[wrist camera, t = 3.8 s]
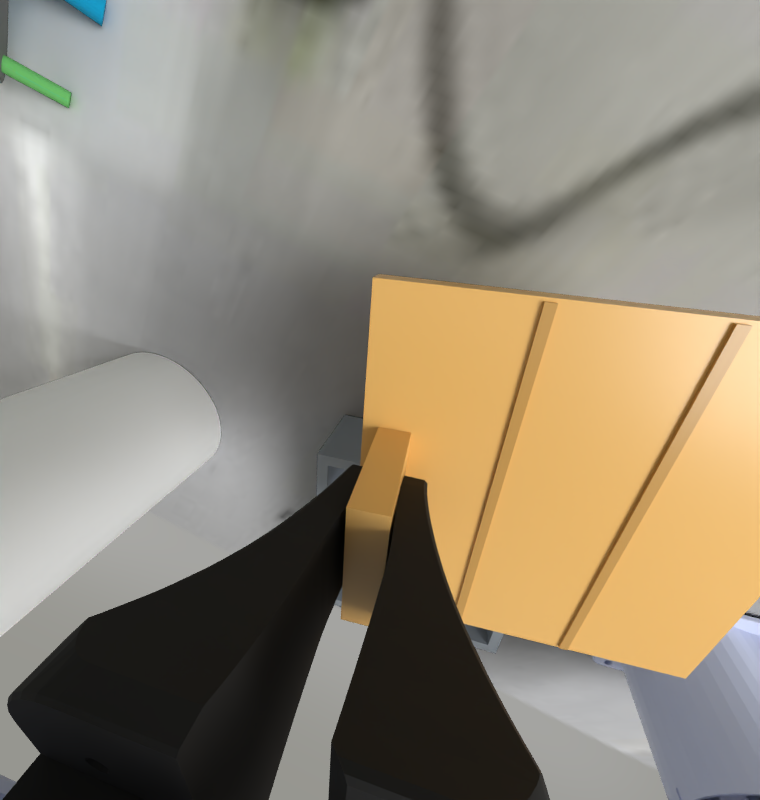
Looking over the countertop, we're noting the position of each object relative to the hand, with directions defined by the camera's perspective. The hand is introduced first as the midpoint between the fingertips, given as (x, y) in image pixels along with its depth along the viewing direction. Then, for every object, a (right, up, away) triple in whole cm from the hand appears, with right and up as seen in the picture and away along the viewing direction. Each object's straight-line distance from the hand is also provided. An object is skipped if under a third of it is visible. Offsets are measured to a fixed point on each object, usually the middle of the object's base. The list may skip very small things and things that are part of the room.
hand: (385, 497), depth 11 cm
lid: (+5, 0, +1) cm, 6 cm away
